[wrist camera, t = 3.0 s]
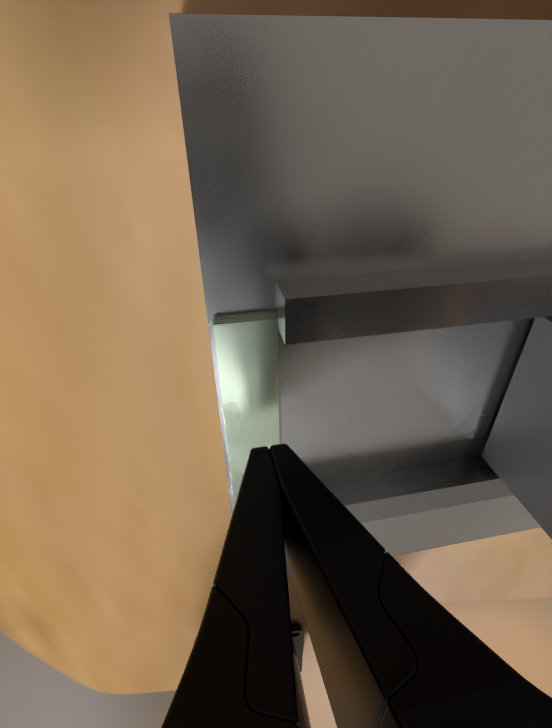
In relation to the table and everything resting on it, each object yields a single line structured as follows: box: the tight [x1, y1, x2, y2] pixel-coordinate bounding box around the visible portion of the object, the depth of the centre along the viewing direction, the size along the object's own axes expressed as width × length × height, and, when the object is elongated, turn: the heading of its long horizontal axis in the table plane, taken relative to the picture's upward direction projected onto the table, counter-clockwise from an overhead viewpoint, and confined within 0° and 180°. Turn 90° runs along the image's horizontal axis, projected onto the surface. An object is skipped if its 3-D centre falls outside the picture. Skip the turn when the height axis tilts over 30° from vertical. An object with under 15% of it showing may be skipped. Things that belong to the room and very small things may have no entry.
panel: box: [169, 13, 552, 577], centre depth 12 cm, size 16×20×4 cm
